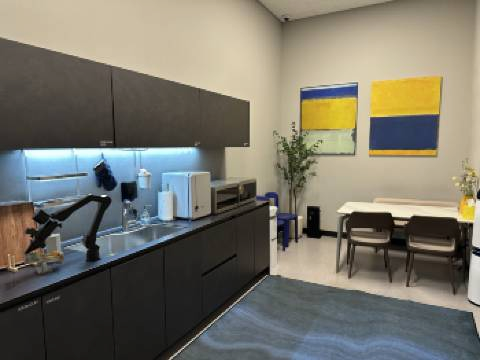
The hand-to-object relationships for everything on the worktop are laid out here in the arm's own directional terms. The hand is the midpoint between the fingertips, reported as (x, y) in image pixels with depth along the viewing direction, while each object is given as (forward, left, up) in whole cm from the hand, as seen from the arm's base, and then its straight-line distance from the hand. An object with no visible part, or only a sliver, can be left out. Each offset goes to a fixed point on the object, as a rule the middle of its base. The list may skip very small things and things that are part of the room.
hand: (25, 253), depth 178 cm
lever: (-7, +3, -7) cm, 11 cm away
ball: (-12, +6, -3) cm, 14 cm away
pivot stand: (-7, +3, -11) cm, 14 cm away
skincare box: (-22, -10, -11) cm, 26 cm away
